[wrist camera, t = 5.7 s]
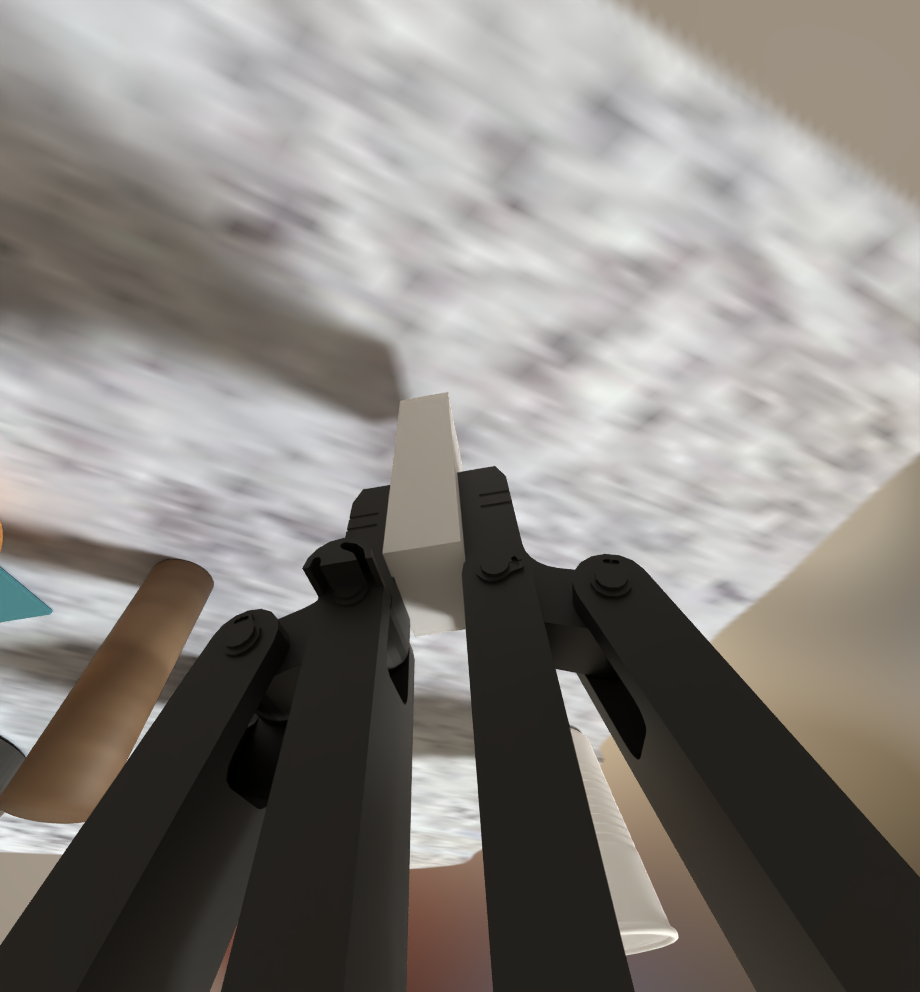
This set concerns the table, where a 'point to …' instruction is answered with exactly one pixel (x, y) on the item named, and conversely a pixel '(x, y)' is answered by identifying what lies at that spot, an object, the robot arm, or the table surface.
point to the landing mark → (18, 600)
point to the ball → (1, 535)
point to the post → (110, 700)
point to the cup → (622, 862)
